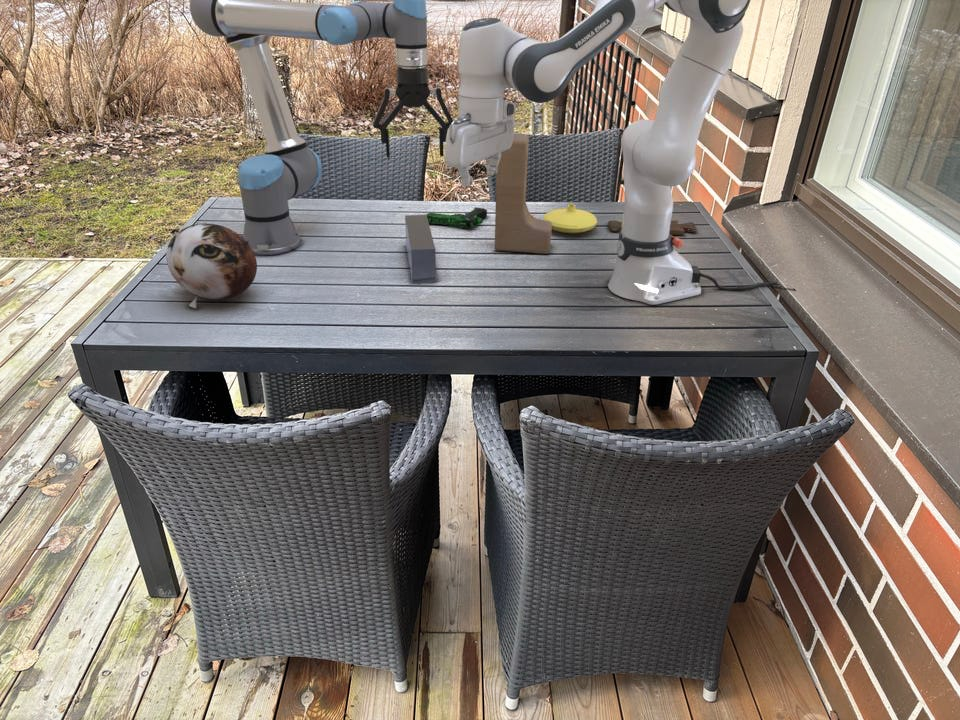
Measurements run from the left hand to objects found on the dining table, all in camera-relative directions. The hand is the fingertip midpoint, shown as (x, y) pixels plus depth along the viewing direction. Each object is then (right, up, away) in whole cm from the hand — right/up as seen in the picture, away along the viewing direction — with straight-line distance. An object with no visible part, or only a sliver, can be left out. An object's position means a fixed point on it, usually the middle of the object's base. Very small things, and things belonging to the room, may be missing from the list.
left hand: (414, 155), depth 182 cm
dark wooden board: (+68, -14, +30) cm, 75 cm away
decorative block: (+28, -21, +15) cm, 39 cm away
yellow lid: (+43, -14, +29) cm, 54 cm away
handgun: (+10, -10, +34) cm, 37 cm away
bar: (+1, -27, +6) cm, 27 cm away
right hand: (+17, -15, -35) cm, 42 cm away
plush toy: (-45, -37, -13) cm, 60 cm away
